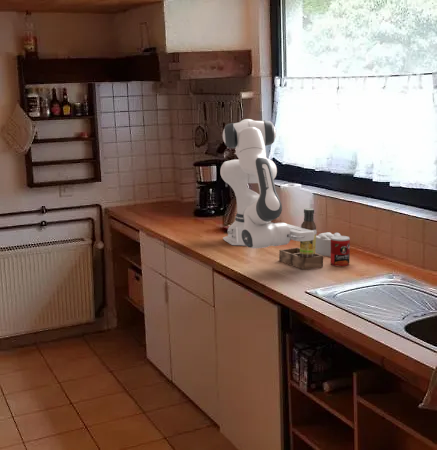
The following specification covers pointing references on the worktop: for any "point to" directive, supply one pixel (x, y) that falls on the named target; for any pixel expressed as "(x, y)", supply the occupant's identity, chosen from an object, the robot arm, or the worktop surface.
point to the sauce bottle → (308, 246)
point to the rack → (300, 259)
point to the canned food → (340, 250)
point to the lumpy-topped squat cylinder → (324, 243)
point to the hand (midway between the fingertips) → (310, 230)
